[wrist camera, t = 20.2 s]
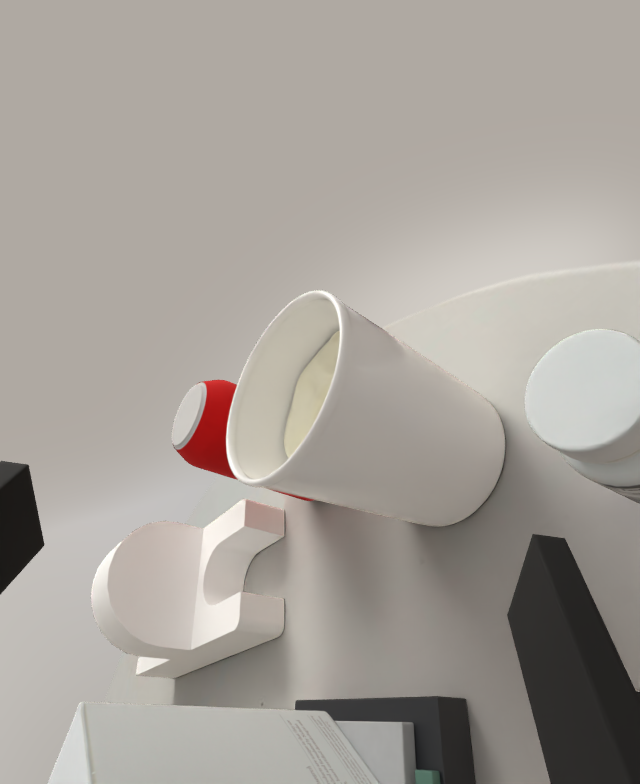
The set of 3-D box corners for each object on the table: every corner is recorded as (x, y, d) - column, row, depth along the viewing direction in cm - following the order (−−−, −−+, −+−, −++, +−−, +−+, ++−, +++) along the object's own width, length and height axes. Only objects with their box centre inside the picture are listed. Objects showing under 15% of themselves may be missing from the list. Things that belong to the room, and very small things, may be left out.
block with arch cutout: (174, 678, 47) (48, 668, 42) (187, 572, 53) (78, 552, 48) (284, 634, 36) (133, 613, 31) (284, 508, 43) (158, 471, 37)
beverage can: (345, 506, 36) (189, 457, 30) (298, 503, 41) (156, 460, 35) (361, 424, 38) (218, 363, 32) (315, 431, 43) (183, 379, 37)
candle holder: (499, 560, 25) (299, 499, 19) (373, 524, 33) (206, 473, 27) (536, 374, 27) (367, 266, 21) (409, 383, 35) (261, 308, 29)
